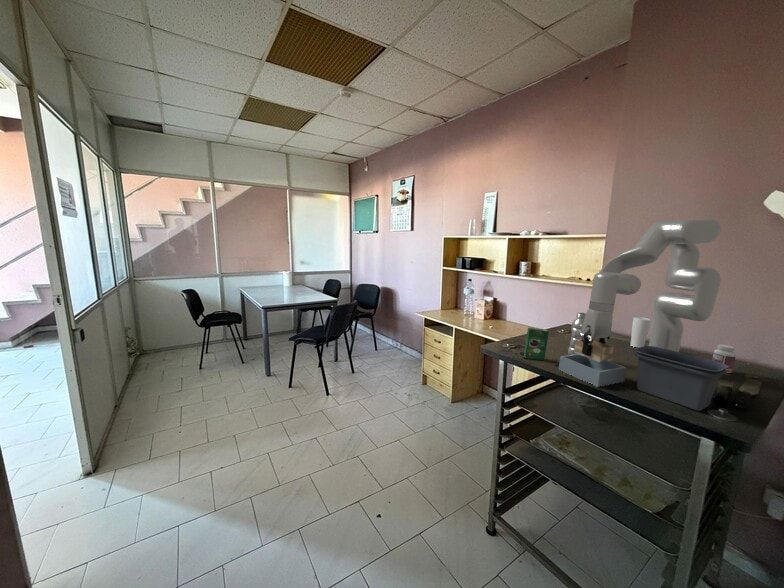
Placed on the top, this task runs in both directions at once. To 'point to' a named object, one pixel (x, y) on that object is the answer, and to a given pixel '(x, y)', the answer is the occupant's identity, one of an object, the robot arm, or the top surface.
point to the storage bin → (678, 376)
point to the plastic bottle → (576, 332)
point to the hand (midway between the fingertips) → (593, 353)
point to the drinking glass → (639, 331)
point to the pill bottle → (725, 356)
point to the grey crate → (592, 370)
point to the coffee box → (536, 343)
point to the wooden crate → (596, 351)
